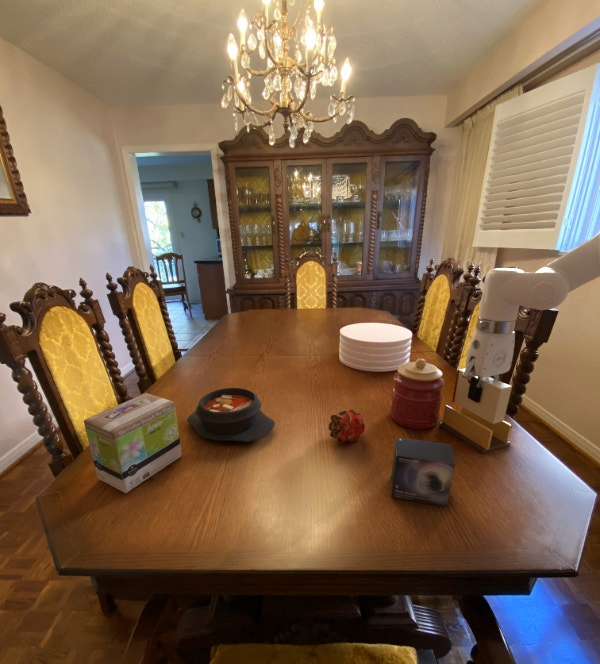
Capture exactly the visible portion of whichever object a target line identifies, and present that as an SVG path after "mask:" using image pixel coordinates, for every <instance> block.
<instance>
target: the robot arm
mask: <svg viewBox="0 0 600 664" xmlns="http://www.w3.org/2000/svg"><path fill="white" fill-rule="evenodd" d="M598 278H600V232H598V233H597V234H596V235H594V236H593V237H591V238H589V239H587V240H586V241H585V242H583V243H581V244H580V245H578V246H577V247H575V248H573V249H571V250H569V251H568V252H566V253H565V254H563V255H561V256H560V257H558V258H556V259H554V260H553V261H551V262H550V263H548V264H546V265H545V266H543V267H541V268H540V269H538V270H537V271H534V272H533V271H531V272H530V271H529V272H525V271H524V270H523V269H518V268H510V267H498V268H491V269H489V270H488V271H487V273H486V274H485V278H484V282H483V288H482V292H481V293H482V294H481V299H480V304H479V309H478V314H477V319H476V325H475V330H474V332H473V334H472V338H471V340H470V343H469V348H468V351H467V354H466V359H465V366H464V368H465V371H464V373H463V374H462V377H464V378H465V379H467V380H468V383H469V384H470V386H469V391H468V398H469V399H471V400H473V401H475V402H476V403H478V402H480V399H481V394H482V389H483V388H482V387H481V385H482V382H483V379H484V377H491V378H493V379H496V380H498V381H500V378H501V377H502V376H503V374H505V373H508V372H509V371H511V367H512V362H513V357H514V351H515V342H516V334H515V326H516V324H517V323H516V322H517V318H518V315H519V309H520V307H524V308H527V309H528V308H529V309H532V310H538V311H539V310H540V311H546V310H551V309H554V308H557V307H559V306H560V305H562V303H563V302H564V301H565V300H566V299H567V297H568V295H569V293H570V292H573V291H574V290H576V289H578V288H580V287H582V286H584V285H585V284H586V285H587V284H588V283H590V282H592V281H593V280H596V279H598ZM475 376H478V380H477V379H476V378H475Z"/></svg>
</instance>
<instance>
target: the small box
mask: <svg viewBox="0 0 600 664" xmlns="http://www.w3.org/2000/svg"><path fill="white" fill-rule="evenodd" d="M394 443H395V444H394V451H393V459H392V467H391V474H390V497H391V499H397V500H403V501H408V502H414V503H421V504H426V505H432V506H438V507H443V508H447V507H448V503H449V497H450V492H451V487H452V482H453V478H454V473H455V469H456V464H457V463H456V458H455V455H454V451H453V448H452V444H451V443H446V442H445V443H444V442H436V441H429V440H420V439H413V438H405V437H395V442H394Z"/></svg>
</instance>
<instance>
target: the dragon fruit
mask: <svg viewBox="0 0 600 664" xmlns="http://www.w3.org/2000/svg"><path fill="white" fill-rule="evenodd" d="M327 427H328V431H330V432H329V436H330V438H333V439H337V440H336V442H337V443H340V444H345V443H347V442H348V441H349V442H351V443H357V442H358V441H359V437H360V436H361V435H362V434H363V433H364V432H365V429H366V425H365V422H364V417H363V415H362V414H361V412H357V411H356V410H355V409H349V410H347V409H345V410H341V411H339V412H338V413H337V414H332V415H331V416H330V422H329V423H328V426H327Z"/></svg>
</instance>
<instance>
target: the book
mask: <svg viewBox="0 0 600 664" xmlns="http://www.w3.org/2000/svg"><path fill="white" fill-rule="evenodd" d="M464 371H465V367H464V368H459V369H457V372H456V377H455V383H454V389H453V394H452V399H451V402H452V403H455V404H456V405H458V406H460V407H461V408H462V407H463V408H465V409H467V410H469V411H471V412H472V413H474V414H476V415H478V416H480V417H481V418H483V419H485V420H487V421H489V422H491V423H492V424H494V423H498V422H501V421H505V417H506V414H507V413H506V412H507V409H508V405H509V401H510V397H511V393H512V388H513V385H510V384H507V383H505V382H502V381H501V380H499V381H498V380H496V379H493V378H491V377H484V379H483V382H482V385H481V387H482V388H483V389H482V394H481V399H480V402H478V403H476V402H475V401H473V400H471V399H469V398H468V391H469V386H470V384H469V383H468V380H467V379H465V378H464V377H462V374H463V373H464ZM475 378H476V379H477V380H478V376H475Z"/></svg>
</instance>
